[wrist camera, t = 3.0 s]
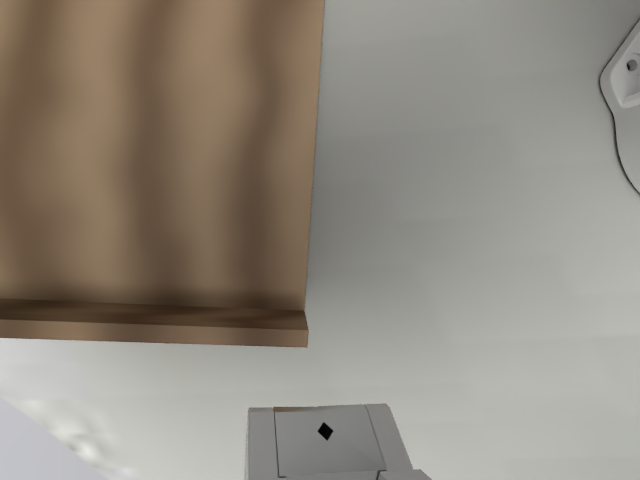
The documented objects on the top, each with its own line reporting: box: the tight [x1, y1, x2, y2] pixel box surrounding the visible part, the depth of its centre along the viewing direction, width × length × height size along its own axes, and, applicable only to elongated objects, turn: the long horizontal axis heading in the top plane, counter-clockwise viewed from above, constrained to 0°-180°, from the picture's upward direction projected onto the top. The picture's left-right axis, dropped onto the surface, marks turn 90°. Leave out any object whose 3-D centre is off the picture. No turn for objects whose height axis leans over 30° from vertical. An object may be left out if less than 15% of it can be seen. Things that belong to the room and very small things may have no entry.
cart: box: [0, 0, 324, 347], centre depth 27 cm, size 19×26×9 cm
